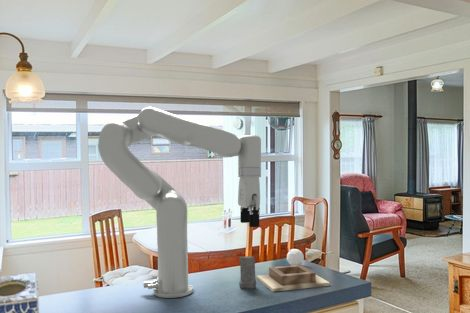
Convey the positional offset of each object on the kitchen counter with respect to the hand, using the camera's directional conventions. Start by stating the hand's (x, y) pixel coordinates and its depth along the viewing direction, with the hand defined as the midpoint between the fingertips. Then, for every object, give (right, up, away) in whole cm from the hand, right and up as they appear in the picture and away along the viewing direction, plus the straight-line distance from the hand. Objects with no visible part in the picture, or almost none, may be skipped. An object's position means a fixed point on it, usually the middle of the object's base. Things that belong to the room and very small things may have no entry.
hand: (249, 224), depth 141 cm
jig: (+15, -20, +5) cm, 25 cm away
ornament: (+19, -21, +27) cm, 38 cm away
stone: (-1, -21, -1) cm, 21 cm away
